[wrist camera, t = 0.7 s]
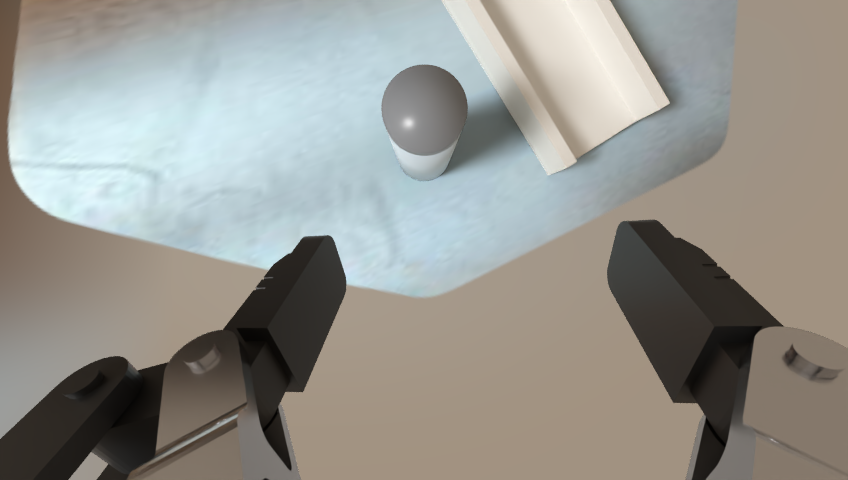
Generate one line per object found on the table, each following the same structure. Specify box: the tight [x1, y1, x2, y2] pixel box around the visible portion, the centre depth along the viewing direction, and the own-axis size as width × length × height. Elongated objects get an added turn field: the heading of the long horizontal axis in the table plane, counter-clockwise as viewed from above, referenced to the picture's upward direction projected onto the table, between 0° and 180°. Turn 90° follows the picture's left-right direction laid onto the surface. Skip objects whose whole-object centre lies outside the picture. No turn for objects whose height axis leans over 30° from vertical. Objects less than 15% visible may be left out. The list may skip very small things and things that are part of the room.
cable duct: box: [442, 0, 670, 176], centre depth 28 cm, size 20×10×4 cm, turn 32°
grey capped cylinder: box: [382, 65, 468, 181], centre depth 25 cm, size 5×5×12 cm
